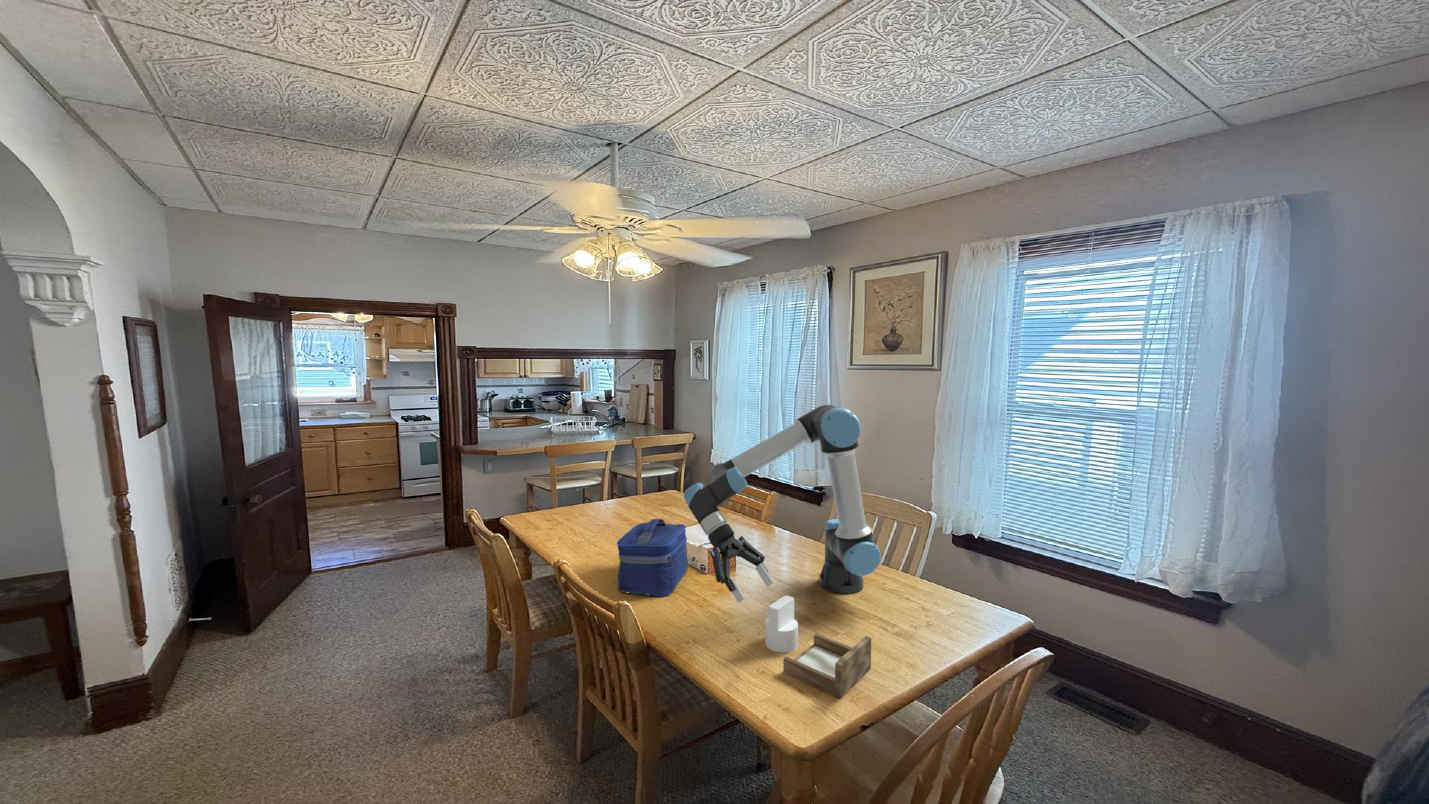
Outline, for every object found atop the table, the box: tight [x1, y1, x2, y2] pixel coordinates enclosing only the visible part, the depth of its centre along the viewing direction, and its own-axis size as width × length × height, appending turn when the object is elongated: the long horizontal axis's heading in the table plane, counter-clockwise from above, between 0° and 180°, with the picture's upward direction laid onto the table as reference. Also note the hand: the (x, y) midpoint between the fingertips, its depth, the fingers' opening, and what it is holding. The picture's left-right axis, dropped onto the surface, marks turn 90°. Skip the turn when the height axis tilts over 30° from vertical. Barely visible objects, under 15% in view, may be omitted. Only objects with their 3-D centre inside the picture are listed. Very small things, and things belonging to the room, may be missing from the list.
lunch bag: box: [616, 518, 689, 597], centre depth 190 cm, size 31×21×20 cm
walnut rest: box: [782, 633, 872, 700], centre depth 133 cm, size 16×16×8 cm
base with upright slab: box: [765, 595, 799, 654], centre depth 145 cm, size 9×9×12 cm
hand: (756, 592), depth 150 cm, fingers open, 13 cm apart
